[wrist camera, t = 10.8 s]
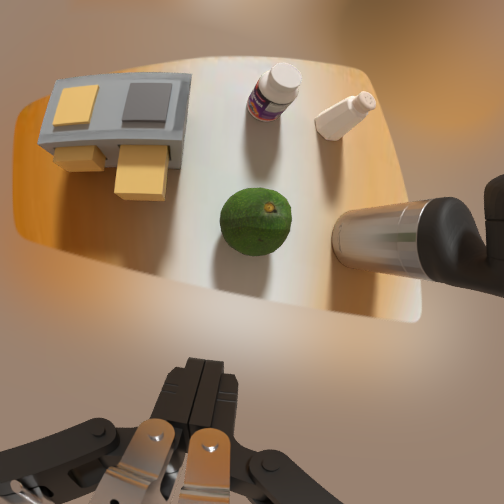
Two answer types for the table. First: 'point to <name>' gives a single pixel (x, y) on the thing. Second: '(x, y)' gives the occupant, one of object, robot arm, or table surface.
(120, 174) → the button
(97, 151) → the button
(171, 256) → the table surface
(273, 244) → the fruit
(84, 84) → the console
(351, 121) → the pepper shaker
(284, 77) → the pill bottle
